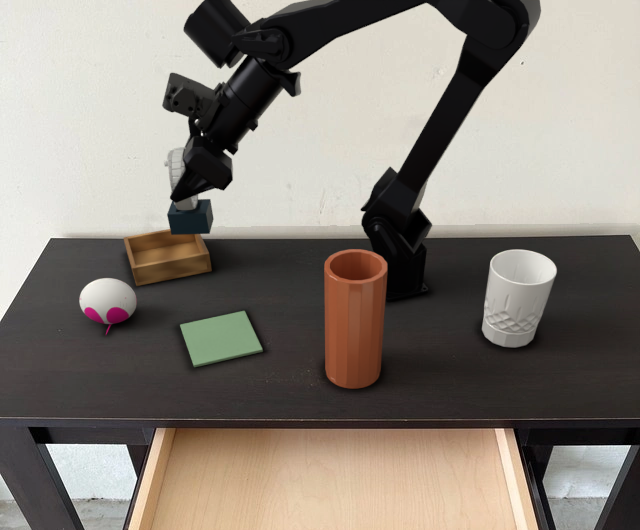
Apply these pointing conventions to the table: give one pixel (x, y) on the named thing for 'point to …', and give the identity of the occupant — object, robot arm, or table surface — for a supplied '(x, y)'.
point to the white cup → (516, 296)
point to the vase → (354, 317)
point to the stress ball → (108, 301)
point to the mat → (220, 338)
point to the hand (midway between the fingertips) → (174, 186)
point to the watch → (186, 202)
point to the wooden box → (166, 256)
